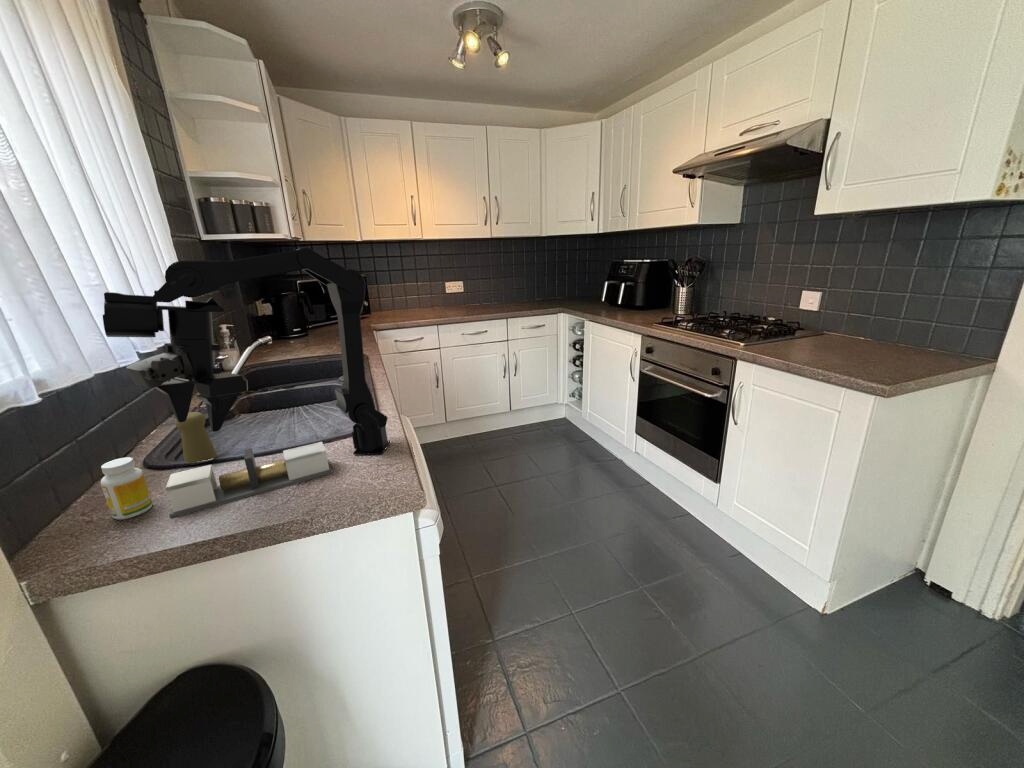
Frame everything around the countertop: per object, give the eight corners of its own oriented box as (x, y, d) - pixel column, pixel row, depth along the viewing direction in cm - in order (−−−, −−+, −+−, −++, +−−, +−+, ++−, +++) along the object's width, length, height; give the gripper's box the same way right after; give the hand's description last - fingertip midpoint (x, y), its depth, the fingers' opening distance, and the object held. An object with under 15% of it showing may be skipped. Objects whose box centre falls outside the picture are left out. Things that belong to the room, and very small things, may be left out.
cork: (204, 465, 88) (191, 418, 85) (177, 466, 88) (163, 419, 85) (223, 453, 93) (212, 408, 90) (197, 454, 93) (185, 409, 90)
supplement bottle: (104, 521, 68) (85, 471, 66) (129, 504, 74) (113, 456, 71) (138, 518, 69) (120, 468, 66) (161, 501, 74) (145, 454, 71)
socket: (217, 487, 77) (211, 464, 76) (215, 500, 72) (209, 477, 71) (178, 497, 74) (171, 473, 73) (173, 512, 69) (165, 487, 68)
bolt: (319, 460, 86) (314, 433, 84) (323, 469, 82) (317, 441, 80) (223, 485, 77) (215, 456, 75) (222, 496, 73) (213, 466, 71)
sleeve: (325, 459, 86) (321, 441, 85) (329, 469, 82) (325, 450, 81) (287, 469, 83) (283, 450, 82) (289, 480, 78) (284, 460, 77)
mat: (327, 460, 87) (326, 457, 87) (332, 473, 82) (332, 470, 82) (176, 499, 74) (175, 496, 74) (170, 518, 69) (169, 514, 68)
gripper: (98, 334, 64) (109, 428, 67) (171, 346, 57) (180, 450, 60) (178, 332, 74) (184, 413, 77) (248, 342, 67) (252, 431, 70)
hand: (198, 426), depth 71 cm, fingers open, 9 cm apart
